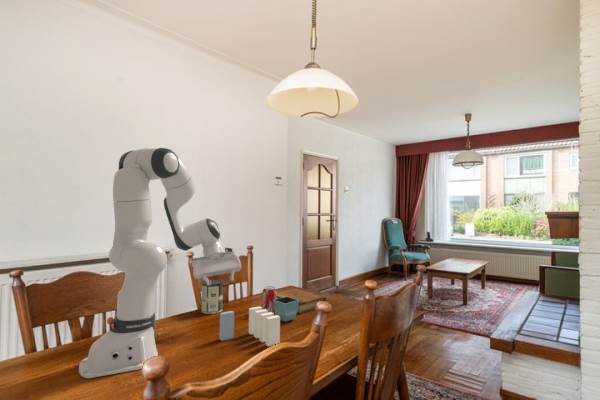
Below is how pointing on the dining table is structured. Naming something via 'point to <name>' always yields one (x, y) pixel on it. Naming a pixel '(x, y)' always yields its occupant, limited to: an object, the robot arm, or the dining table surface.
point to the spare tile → (226, 325)
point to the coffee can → (212, 297)
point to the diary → (302, 299)
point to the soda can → (269, 298)
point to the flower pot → (286, 308)
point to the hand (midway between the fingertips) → (221, 282)
